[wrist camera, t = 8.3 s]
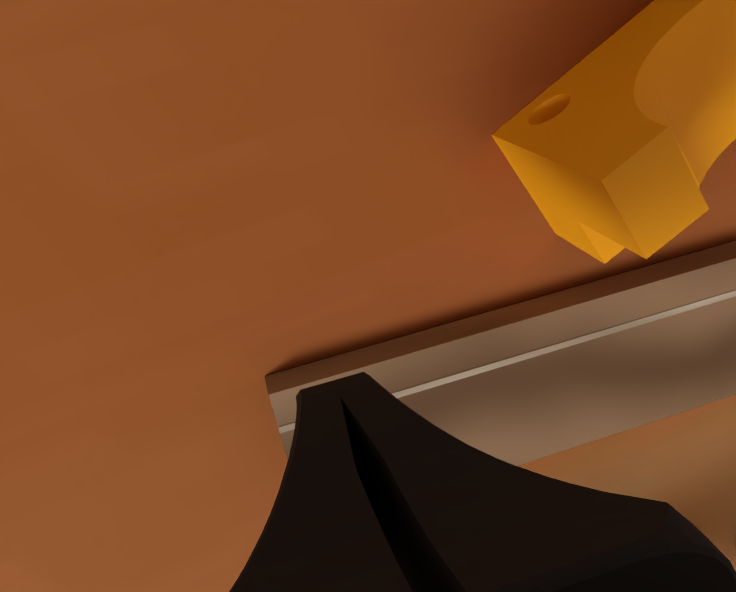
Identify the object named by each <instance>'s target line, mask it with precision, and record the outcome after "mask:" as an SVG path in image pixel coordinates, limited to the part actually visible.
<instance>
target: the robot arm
mask: <svg viewBox="0 0 736 592" xmlns="http://www.w3.org/2000/svg"><path fill="white" fill-rule="evenodd" d="M296 403H297V411H296V422H295V429H294V435H293V440H292V445H291V449H290V454H289V458H288V462H287V466H286V469H285V472H284V476H283V479H282V482H281V486H280V489H279V492H278V495H277V498H276V500H275V503H274V506H273V508H272V511H271V513H270V516H269V518H268V520H267V523H266V525H265V527H264V530H263V532H262V534H261V536H260V538H259V540H258V542H257V544H256V546H255V548H254V550H253V552H252V554H251V556H250V558H249V560H248V562H247V563H246V565H245V567H244V569H243V570H242V572H241V574H240V576H239V577H238V579H237V581H236V582H235V584H234V585H233V587H232V588H231V590H230V591H229V592H736V572H735V570H734V568H733V566H732V564H731V562H730V561H729V560H728V559H727V558H726V557H725V556H724V555H723V554H722V553H721V552H720V550H719V549H718V548H717V547H716V546H715V545H714V544H713V543H712V542H711V541H710V540H709V539H708V538H707V537H706V536H705V535H704V534H703V533H702V532H701V531H699V530H698V529H697V528H696V527H695V526H694V525H693V524H692V523H691V522H690V521H688V520H687V519H686V518H685V517H684V516H682V515H681V514H680V513H679V512H677V511H676V510H675V509H674V508H673V507H672V506H671V505H670V504H668V503H666V502H661V501H655V500H649V499H643V498H637V497H631V496H625V495H619V494H613V493H608V492H603V491H599V490H595V489H591V488H587V487H583V486H579V485H574V484H570V483H567V482H563V481H560V480H557V479H553V478H550V477H546V476H543V475H540V474H538V473H535V472H532V471H529V470H526V469H523V468H521V467H518V466H515V465H512V464H510V463H507V462H505V461H502V460H500V459H498V458H495V457H493V456H491V455H489V454H487V453H485V452H482V451H480V450H478V449H476V448H474V447H472V446H470V445H468V444H466V443H464V442H462V441H461V440H459V439H457V438H455V437H454V436H452V435H450V434H449V433H447V432H445V431H444V430H442V429H440V428H439V427H437V426H436V425H434V424H432V423H431V422H429V421H428V420H426V419H425V418H424V417H422V416H421V415H419V414H418V413H416V412H415V411H414V410H412V409H411V408H409V407H408V406H407V405H405V404H404V403H402V402H401V401H400V400H399V399H397V398H396V397H395V396H393V395H392V394H391V393H390V392H388V391H387V390H386V389H385V388H384V387H382V386H381V385H380V384H379V383H378V382H377V381H376V380H374V379H373V378H372V377H371V376H370V375H368V374H367V373H365V372H361V373H357V374H354V375H350V376H347V377H343V378H340V379H336V380H333V381H329V382H326V383H322V384H318V385H315V386H311V387H308V388H304V389H301V390H300V391H299V392H298V394H297V395H296Z"/></svg>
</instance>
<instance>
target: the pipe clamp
mask: <svg viewBox="0 0 736 592" xmlns="http://www.w3.org/2000/svg"><path fill="white" fill-rule="evenodd" d="M492 137H493V138H494V140H495V141H496V143H497V144H498V146H499V148H500V149H501V151H502V152H503V154H504V155H505V157H506V158H507V160H508V161H509V163H510V164H511V166H512V168H513V169H514V171H515V172H516V174H517V175H518V177H519V178H520V180H521V181H522V183H523V184H524V186H525V188H526V189H527V191H528V192H529V194H530V195H531V197H532V198H533V200H534V201H535V203H536V204H537V206H538V207H539V209H540V211H541V212H542V214H543V215H544V217H545V218H546V220H547V221H548V223H549V224H550V226H551V227H552V229H553V231H554V232H555V234H557V235H559V236H560V237H562V238H563V239H565V240H567V241H568V242H570V243H572V244H573V245H575V246H576V247H578V248H580V249H581V250H583V251H585V252H586V253H588V254H589V255H591V256H593V257H594V258H596V259H598V260H599V261H601V262H602V263H604V264H605V263H607V262H608V261H609V260H610V259H612V258H613V257H614V256H615V255H617V254H618V253H619V252H620V251H622V250H623V249H624V248H627V249H629V250H630V251H632V252H634V253H636V254H638V255H640V256H641V257H643V258H645V259H647V258H649V257H650V256H651V255H652V254H654V253H655V252H656V251H657V250H659V249H660V248H661V247H662V246H664V245H665V244H666V243H667V242H669V241H670V240H671V239H672V238H674V237H675V236H676V235H677V234H679V233H680V232H681V231H682V230H684V229H685V228H686V227H687V226H689V225H690V224H691V223H692V222H694V221H695V220H696V219H697V218H699V217H700V216H701V215H703V214H704V213H705V212H706V211H708V210H709V208H708V206H707V204H706V202H705V200H704V198H703V196H702V194H701V192H700V190H699V187H700V184H701V182H702V180H703V178H704V176H705V174H706V173H707V171H708V169H709V168H710V166H711V165H712V164H713V162H714V161H715V160H716V158H717V157H718V156H719V155H720V154H721V153H722V152H723V150H724V149H725V148H726V147H727V146H728V145H729V144H730V143H731V142H732V141H734V140H735V139H736V0H654V1H653V2H652V3H650V4H649V5H648V6H647V7H645V8H644V9H643V10H642V11H641V12H639V13H638V14H637V15H636V16H635V17H633V18H632V19H631V20H630V21H629V22H627V23H626V24H625V25H624V26H623V27H621V28H620V29H619V30H618V31H616V32H615V33H614V34H613V35H612V36H610V37H609V38H608V39H607V40H606V41H604V42H603V43H602V44H601V45H600V46H598V47H597V48H596V49H595V50H594V51H592V52H591V53H590V54H589V55H587V56H586V57H585V58H584V59H583V60H581V61H580V62H579V63H578V64H577V65H575V66H574V67H573V68H572V69H571V70H569V71H568V72H567V73H566V74H565V75H563V76H562V77H561V78H560V79H558V80H557V81H556V82H555V83H554V84H552V85H551V86H550V87H549V88H548V89H546V90H545V91H544V92H543V93H542V94H540V95H539V96H538V97H537V98H535V99H534V100H533V101H532V102H531V103H529V104H528V105H527V106H526V107H525V108H523V109H522V110H521V111H520V112H519V113H517V114H516V115H515V116H514V117H513V118H511V119H510V120H509V121H508V122H506V123H505V124H504V125H503V126H502V127H500V128H499V129H498V130H497V131H496V132H494V133H493V134H492Z"/></svg>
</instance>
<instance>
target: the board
mask: <svg viewBox="0 0 736 592" xmlns="http://www.w3.org/2000/svg"><path fill="white" fill-rule="evenodd" d="M361 372H365V373H367V374H368V375H370V376H371V377H372V378H373V379H374V380H376V381H377V382H378V383H379V384H380V385H381V386H382V387H384V388H385V389H386V390H387V391H388V392H390V393H391V394H392V395H393V396H395V397H396V398H397V399H399V400H400V401H401V402H402V403H404V404H405V405H407V406H408V407H409V408H411V409H412V410H414V411H415V412H416V413H418V414H419V415H421V416H422V417H424V418H425V419H426V420H428V421H429V422H431V423H432V424H434V425H436V426H437V427H439V428H440V429H442V430H444V431H445V432H447V433H449V434H450V435H452V436H454V437H455V438H457V439H459V440H461V441H462V442H464V443H466V444H468V445H470V446H472V447H474V448H476V449H478V450H480V451H482V452H485V453H487V454H489V455H491V456H493V457H495V458H498V459H500V460H502V461H505V462H507V463H510V464H512V465H515V466H518V465H521V464H524V463H527V462H530V461H533V460H537V459H540V458H543V457H546V456H549V455H552V454H555V453H558V452H561V451H564V450H567V449H570V448H573V447H577V446H580V445H583V444H586V443H589V442H592V441H595V440H598V439H601V438H604V437H607V436H610V435H613V434H616V433H620V432H623V431H626V430H629V429H632V428H635V427H638V426H641V425H644V424H647V423H650V422H653V421H656V420H660V419H663V418H666V417H669V416H672V415H675V414H678V413H681V412H684V411H687V410H690V409H693V408H696V407H699V406H703V405H706V404H709V403H712V402H715V401H718V400H721V399H724V398H727V397H730V396H733V395H736V241H733V242H729V243H726V244H722V245H719V246H715V247H712V248H708V249H705V250H701V251H698V252H694V253H691V254H688V255H684V256H681V257H677V258H674V259H670V260H667V261H663V262H660V263H656V264H653V265H649V266H646V267H642V268H639V269H635V270H632V271H629V272H625V273H622V274H618V275H615V276H611V277H608V278H604V279H601V280H597V281H594V282H590V283H587V284H583V285H580V286H576V287H573V288H569V289H566V290H563V291H559V292H556V293H552V294H549V295H545V296H542V297H538V298H535V299H531V300H528V301H524V302H521V303H517V304H514V305H510V306H507V307H504V308H500V309H497V310H493V311H490V312H486V313H483V314H479V315H476V316H472V317H469V318H465V319H462V320H458V321H455V322H451V323H448V324H444V325H441V326H438V327H434V328H431V329H427V330H424V331H420V332H417V333H413V334H410V335H406V336H403V337H399V338H396V339H392V340H389V341H385V342H382V343H379V344H375V345H372V346H368V347H365V348H361V349H358V350H354V351H351V352H347V353H344V354H340V355H337V356H333V357H330V358H326V359H323V360H319V361H316V362H313V363H309V364H306V365H302V366H299V367H295V368H292V369H288V370H285V371H281V372H278V373H274V374H271V375H267V376H265V380H266V385H267V390H268V395H269V398H270V401H271V405H272V408H273V412H274V415H275V418H276V422H277V425H278V429H279V432H280V435H281V438H282V442H283V445H284V449H285V452H286V455H287V459H288V458H289V454H290V449H291V445H292V440H293V435H294V429H295V422H296V411H297V403H296V395H297V394H298V392H299V391H300V390H301V389H304V388H308V387H311V386H315V385H318V384H322V383H326V382H329V381H333V380H336V379H340V378H343V377H347V376H350V375H354V374H357V373H361Z"/></svg>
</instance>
